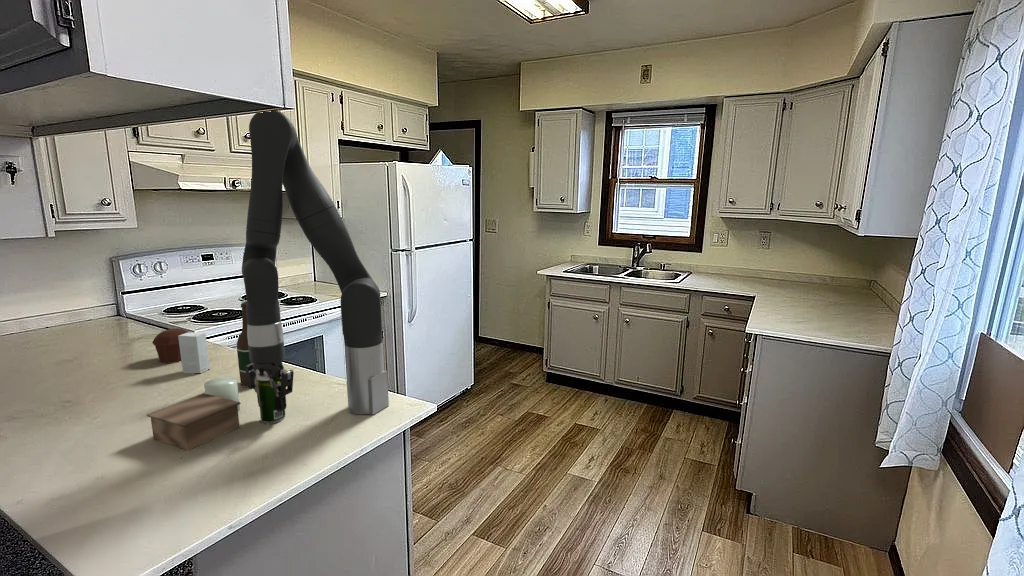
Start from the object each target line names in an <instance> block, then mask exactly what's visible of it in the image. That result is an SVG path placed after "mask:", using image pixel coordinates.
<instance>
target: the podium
mask: <svg viewBox="0 0 1024 576" xmlns="http://www.w3.org/2000/svg"><path fill="white" fill-rule="evenodd" d="M237 405H241V402H240V401H239V402H237V401H233V400H229V399H225V398H221V397H217V396H213V395H209V394H205V392H204V393H201V394H198V395H195V396H193V397H190V398H188V399H187V398H186V399H184V400H182V401H179V402H177V403H174V404H171V405H168V406H165V407H164V408H161V409H157V410H154V411H152V412H149V413H147V414H146V417H148V418H150V423H151V424H150V425H151V430H152V438H153V440H155V441H158V442H161V443H165V444H167V445H171V446H174V447H177V448H179V449H183V450H186V451H190V450H192V449H196V448H197V447H200V446H201V445H203V444H205V443H208V442H210V441H212V440H214V439H216V438H219V437H221V436H222V435H225V434H226V433H230V432H232V431H233V430H235V429H238V428H240V426H241V425H240V419H239V418H240V417H239V412H238V407H237Z"/></svg>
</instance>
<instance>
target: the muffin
mask: <svg viewBox="0 0 1024 576" xmlns="http://www.w3.org/2000/svg"><path fill="white" fill-rule="evenodd" d="M188 332H189V333H191V332H190V331H188V330H186V329H184V328H169V329H166V330H162V331H161V332H159V333H158V334H156V336H155V337H154V339H153V340H152V342H151V344H153V346H154V347H155V350H156V353H157V356H158V359H159V361H160V362H161V364H172V363H171V362H175V363H180V362H179V361H181V353H180V346H179V338H178V336H179V335H182V334H185V333H188ZM181 362H182V361H181Z"/></svg>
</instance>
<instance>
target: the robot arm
mask: <svg viewBox="0 0 1024 576" xmlns="http://www.w3.org/2000/svg"><path fill="white" fill-rule="evenodd" d="M248 132H249V139H250V140H249V141H250V150H251V151H250V152H251V153H250V154H251V181H250V183H251V184H250V191H249V192H250V193H249V201H248V209H247V218H246V226H245V227H246V230H245V245H244V250H243V255H242V256H243V257H242V262H241V274H242V278H243V283H244V290H245V297H246V302H247V303H246V315H247V326H248V327H247V337H248V348H249V357H250V362H251V364H248V365H246V366H245V371H246V375H247V380H248V384H249V387H248V388H249V389H250V390H254V392H255V394H256V397H257V405H258V407H259V408H260V406H259V396H258V386H257V377H258V375H260V374H264V376H267V378H269V380H270V388H271V389H273V391H274V394H275V396H276V397H275V402H276V411H278V412H280V411H283V410H285V411H286V408H287V397H286V396H287V395H289V394H291V393H293V388H294V387H293V386H294V374H295V373H294V370H293V369H289V370H287V369H285V366H284V365H283V361H284V359H285V357H286V353H285V351H286V350H285V339H284V331H283V326H282V319H281V308H280V307H281V306H280V304H279V272H278V268H277V266H276V260H277V259H276V258H277V248H278V245H279V244H280V240H281V233H282V221H283V207H284V206H283V200H284V199H283V187H284V190H285V194H286V197H287V200H288V203H289V206H290V208H291V210H292V212H293V215H294V217H295V219H296V220H297V222H298V225H299V226H300V228H301V230H302V232H303V234H304V235H305V237H306V239H307V241H308V242H309V243H310V245H311V246H312V247H313V249H314V250H315V251H316V252H317V254H318V255H319V256H320V257H321V258H322V259H323V261H324V262H325V263H326V265H327V266H328V267H329V269H330V271H331V272H332V274H333V275H334V278H335V281H336V283H337V285H338V287H339V291H340V292H341V296H340V317H341V328H342V330H341V331H342V336H343V346H344V361H345V363H344V364H345V378H346V392H347V393H346V395H347V407H348V411H349V412H350V413H351V414H353V415H354V414H355V415H375V414H377V413H379V412H380V411H382V410H383V409H386V408H387V407H389V406H390V403H389V402H390V401H389V383H388V382H389V379H388V378H389V377H388V371H387V370H386V369H385V368H384V366H385V365H384V343H383V326H382V325H383V324H382V306H381V305H382V304H381V291H380V288H379V287H378V285H377V283H376V282H375V281H374V279H373V278H372V276H371V275H370V273H369V272H368V271H367V269H366V267H365V265H364V264H363V263H362V261H361V259H360V257H359V255H358V254H357V251H356V249H355V246H354V244H353V241H352V238H351V236H350V233H349V231H348V230H347V227H346V224H345V223H344V220H343V218H342V216H341V214H340V213H339V210H338V209H337V207H336V206H335V202H334V201H333V200H332V198H331V196H330V194H329V193H328V192H327V190H326V188H325V186H323V184H322V183H321V181H320V180H319V178H318V177H317V176H316V174H315V173H314V171H313V170H312V168H311V166H310V164H309V162H308V160H307V158H306V155H305V153H304V150H303V147H302V145H301V143H300V141H299V140H300V139H299V137H298V134H297V130H296V128H295V125H294V124H293V122H292V121H291V120H290V118H289V117H288V116H287V115H286V114H285V113H283V112H282V111H279V110H277V111H271V112H263V113H257V112H256V113H254V115H253V116H252V117H251V118H250V121H249V124H248ZM271 375H272V376H271ZM253 378H255V382H254V383H253ZM277 379H281V382H280V383H277V384H275V383H274V382H273V380H277ZM278 386H281V389H280V391H279V390H278Z"/></svg>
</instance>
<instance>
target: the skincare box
mask: <svg viewBox="0 0 1024 576" xmlns="http://www.w3.org/2000/svg"><path fill="white" fill-rule="evenodd" d="M189 332H190V331H188V333H185V334H182V335H179V336H178V338H179V346H180V353H181V368H182V373H183V374H194V373H201V374H203V373H205V372H208V371H209V370H210V369H211V367H210V360H209V353H208V344H207V336H206V332H190V333H189ZM208 369H209V370H208Z"/></svg>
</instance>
